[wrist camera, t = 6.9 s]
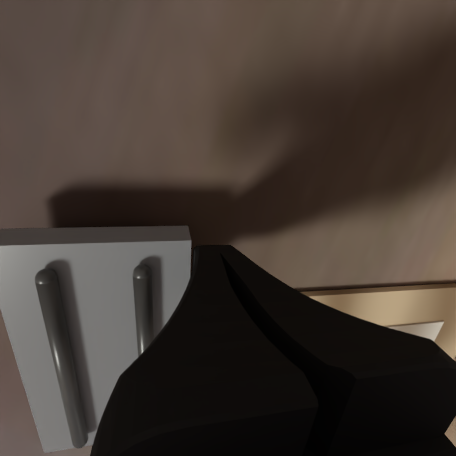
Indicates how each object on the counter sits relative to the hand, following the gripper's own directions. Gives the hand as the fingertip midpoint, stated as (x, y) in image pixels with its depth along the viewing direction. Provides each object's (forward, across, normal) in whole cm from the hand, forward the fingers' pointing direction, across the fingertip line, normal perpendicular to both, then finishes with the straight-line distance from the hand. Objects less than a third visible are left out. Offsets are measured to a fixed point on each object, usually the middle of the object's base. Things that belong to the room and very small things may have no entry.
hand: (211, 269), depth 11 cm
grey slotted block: (+1, +4, +5) cm, 6 cm away
